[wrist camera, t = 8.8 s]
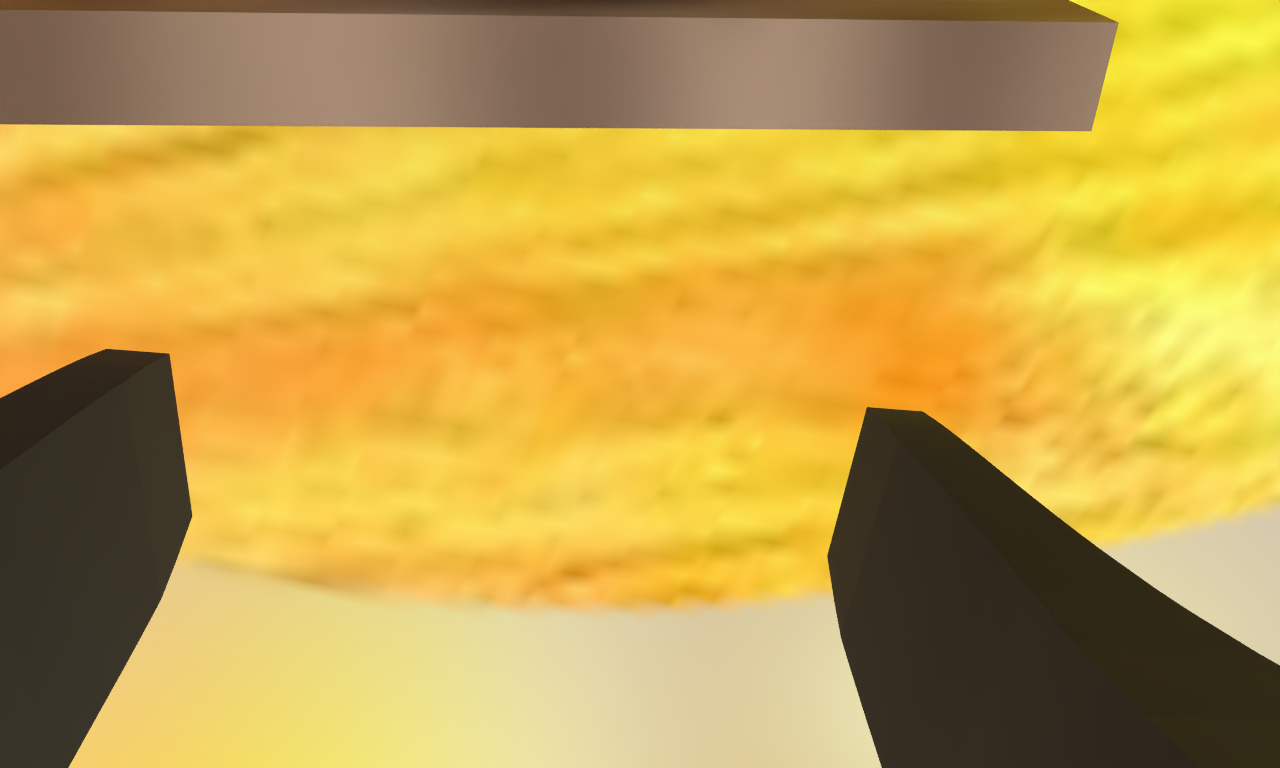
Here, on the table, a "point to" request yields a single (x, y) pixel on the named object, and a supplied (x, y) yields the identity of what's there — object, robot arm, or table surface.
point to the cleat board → (556, 63)
